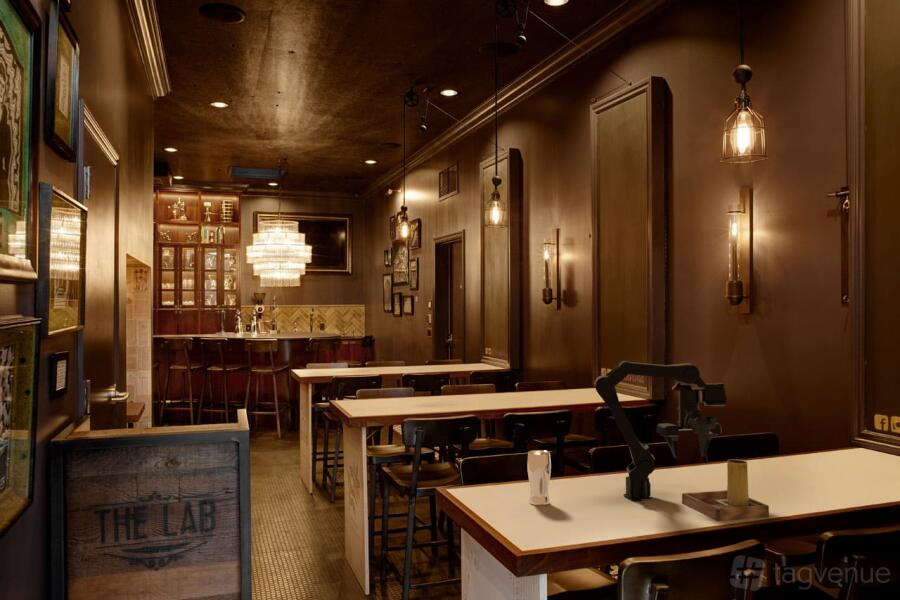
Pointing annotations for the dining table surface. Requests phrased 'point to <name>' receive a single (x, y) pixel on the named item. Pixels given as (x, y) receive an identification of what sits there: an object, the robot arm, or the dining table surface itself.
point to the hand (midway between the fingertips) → (689, 457)
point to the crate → (706, 506)
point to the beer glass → (539, 476)
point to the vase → (737, 483)
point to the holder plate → (724, 504)
